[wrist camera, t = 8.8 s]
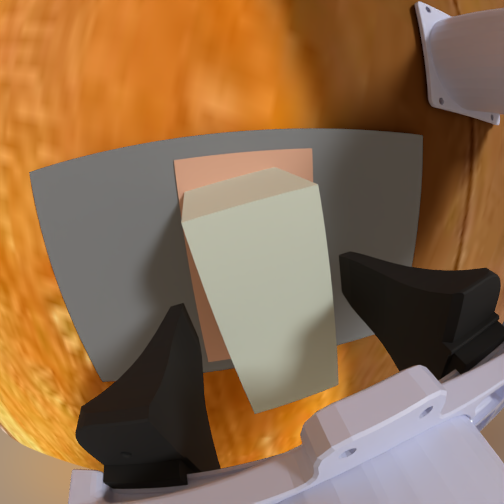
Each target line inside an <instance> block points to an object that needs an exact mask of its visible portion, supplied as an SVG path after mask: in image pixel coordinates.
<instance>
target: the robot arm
mask: <svg viewBox="0 0 504 504" xmlns="http://www.w3.org/2000/svg"><path fill="white" fill-rule="evenodd" d="M415 9H416V14H417V19H418V23H419V29H420V34H421V40H422V46H423V53H424V60H425V68H426V78H427V89H428V100H429V103H430V105H431V106H432V107H434V108H438V109H443V110H447V111H451V112H454V113H458V114H462V115H465V116H469V117H472V118H475V119H479V120H482V121H485V122H488V123H491V124H494V125H499V123H500V114H504V8H499V9H492V10H485V11H479V12H473V13H468V14H463V15H458V16H454V17H451V16H449V15H447V14H445V13H443V12H441V11H440V10H438V9H435V8H433V7H431V6H429V5H427V4H425V3H423V2H420V1H419V2H417V3H415ZM439 100H440V103H439ZM339 265H340V277H341V290H342V293H343V295H344V296H345V298H346V300H347V301H348V303H349V304H350V306H351V307H352V308H353V310H354V311H355V312H356V313H357V314H358V315H359V317H360V318H361V319H362V320H363V321H364V322H365V323H366V325H367V326H368V327H369V328H370V329H371V330H372V331H373V333H374V334H375V335H376V336H377V337H378V339H379V340H380V341H381V342H382V344H383V345H384V347H385V348H386V350H387V351H388V353H389V354H390V356H391V358H392V359H393V361H394V363H395V364H396V366H397V368H398V369H399V371H400V372H398V373H396V374H394V375H392V376H390V377H389V378H387V379H385V380H383V381H381V382H379V383H376V384H374V385H372V386H370V387H368V388H366V389H364V390H362V391H359V392H357V393H355V394H353V395H350V396H348V397H346V398H343V399H341V400H339V401H336V402H334V403H332V404H330V405H328V406H326V407H324V408H323V409H321V410H319V411H317V412H316V413H315V414H314V415H312V416H311V417H310V418H309V419H308V420H307V421H306V422H305V423H304V425H303V428H302V431H301V434H300V435H301V440H302V445H300V446H298V447H296V448H294V449H291V450H289V451H287V452H285V453H282V454H279V455H275V456H272V457H268V458H265V459H261V460H257V461H253V462H249V463H245V464H241V465H237V466H232V467H227V468H222V469H221V468H220V465H219V462H218V458H217V454H216V451H215V447H214V443H213V439H212V435H211V430H210V426H209V421H208V416H207V411H206V406H205V398H204V383H203V363H202V353H201V347H200V342H199V337H198V335H197V333H196V330H195V328H194V326H193V324H192V321H191V319H190V317H189V314H188V312H187V310H186V307H185V305H184V303H181V304H178V305H174V306H171V307H170V308H169V310H168V312H167V314H166V315H165V317H164V319H163V321H162V322H161V324H160V326H159V328H158V329H157V331H156V333H155V334H154V336H153V337H152V339H151V340H150V342H149V343H148V345H147V347H146V348H145V349H144V351H143V352H142V354H141V355H140V356H139V357H138V359H137V360H136V361H135V362H134V363H133V365H132V366H131V367H130V368H129V369H128V370H127V371H126V372H125V373H124V374H123V375H122V376H121V377H120V378H119V379H118V380H117V381H116V382H115V383H113V384H112V385H111V386H110V387H109V388H107V389H106V390H105V391H104V392H102V393H101V394H100V395H98V396H97V397H95V398H94V399H92V400H91V401H89V402H88V403H86V404H85V405H83V406H82V407H81V411H80V415H79V419H78V424H77V429H76V439H77V441H78V443H79V444H80V445H81V446H82V447H83V448H84V449H85V450H86V451H87V452H88V453H89V454H91V455H92V456H93V457H94V458H96V459H97V460H98V461H100V462H101V463H102V464H103V465H104V473H103V472H101V471H98V470H82V469H73V470H72V475H71V483H70V492H69V501H68V504H504V463H503V462H502V461H501V459H500V458H499V457H498V455H497V454H496V453H495V451H494V450H493V449H492V447H491V446H490V445H489V443H488V442H487V441H486V440H485V438H484V437H483V436H482V434H481V433H480V431H481V430H482V429H483V428H484V427H485V426H486V425H487V424H488V423H489V422H490V421H491V420H492V419H493V418H494V417H495V416H496V415H497V414H498V413H499V412H500V411H501V410H502V409H503V408H504V322H503V324H501V323H499V322H498V320H499V315H497V314H496V313H495V312H494V311H495V308H496V304H497V301H498V297H499V293H500V278H499V276H498V275H497V274H495V273H494V272H492V271H490V270H489V269H487V268H480V269H472V270H457V271H443V270H429V269H421V268H415V267H409V266H404V265H400V264H396V263H392V262H388V261H384V260H381V259H377V258H374V257H371V256H367V255H364V254H360V253H356V252H351V251H349V252H346V253H343V254H340V255H339Z"/></svg>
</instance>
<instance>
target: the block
mask: <svg viewBox="0 0 504 504" xmlns="http://www.w3.org/2000/svg"><path fill="white" fill-rule="evenodd" d="M181 224H182V227H183V230H184V233H185V236H186V239H187V242H188V244H189V247H190V250H191V253H192V256H193V259H194V262H195V265H196V268H197V270H198V273H199V276H200V279H201V282H202V284H203V287H204V290H205V293H206V295H207V298H208V301H209V303H210V306H211V309H212V311H213V314H214V316H215V319H216V322H217V324H218V327H219V329H220V332H221V334H222V337H223V340H224V342H225V345H226V347H227V350H228V352H229V354H230V357H231V359H232V362H233V364H234V367H235V369H236V371H237V374H238V376H239V379H240V381H241V383H242V386H243V388H244V390H245V393H246V395H247V397H248V399H249V402H250V404H251V406H252V408H253V411H254V413H255V414H256V413H260V412H263V411H266V410H270V409H273V408H276V407H279V406H282V405H285V404H288V403H291V402H294V401H297V400H300V399H303V398H305V397H308V396H311V395H314V394H316V393H319V392H321V391H324V390H327V389H329V388H332V387H334V386H336V385H338V363H337V345H336V329H335V316H334V304H333V293H332V283H331V274H330V265H329V256H328V248H327V240H326V233H325V226H324V219H323V212H322V205H321V199H320V193H319V187H318V184H316V183H313V182H311V181H309V180H306V179H304V178H301V177H299V176H296V175H294V174H291V173H289V172H286V171H284V170H281V169H279V168H276V167H273V168H269V169H265V170H261V171H257V172H253V173H249V174H246V175H242V176H238V177H234V178H231V179H227V180H224V181H220V182H216V183H213V184H210V185H206V186H203V187H199V188H196V189H193V190H189V191H186V192H184V201H183V210H182V220H181Z"/></svg>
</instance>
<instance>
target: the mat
mask: <svg viewBox="0 0 504 504" xmlns="http://www.w3.org/2000/svg"><path fill="white" fill-rule="evenodd" d="M422 163H423V135H417V134H408V133H398V132H386V131H373V130H354V129H272V130H253V131H239V132H227V133H216V134H207V135H198V136H190V137H183V138H175V139H169V140H162V141H156V142H150V143H144V144H139V145H134V146H128V147H123V148H119V149H114V150H109V151H105V152H100V153H96V154H92V155H88V156H84V157H80V158H76V159H72V160H68V161H65V162H61V163H58V164H54V165H51V166H48V167H44V168H41V169H38V170H35V171H32V172H29V173H30V179H31V185H32V190H33V195H34V200H35V205H36V210H37V214H38V218H39V222H40V226H41V230H42V234H43V238H44V241H45V245H46V248H47V252H48V255H49V258H50V262H51V265H52V268H53V271H54V274H55V277H56V280H57V283H58V285H59V288H60V291H61V293H62V296H63V299H64V301H65V304H66V306H67V309H68V311H69V314H70V316H71V318H72V321H73V323H74V325H75V328H76V330H77V332H78V334H79V337H80V339H81V341H82V343H83V345H84V347H85V349H86V351H87V353H88V355H89V357H90V359H91V361H92V363H93V365H94V367H95V369H96V371H97V373H98V374H99V376H100V378H101V380H102V382H105V381H117V380H118V379H119V378H120V377H121V376H122V375H123V374H124V373H125V372H126V371H127V370H128V369H129V368H130V367H131V366H132V365H133V363H134V362H135V361H136V360H137V359H138V357H139V356H140V355H141V354H142V352H143V351H144V349H145V348H146V347H147V345H148V343H149V342H150V340H151V339H152V337H153V336H154V334H155V333H156V331H157V329H158V328H159V326H160V324H161V322H162V321H163V319H164V317H165V315H166V314H167V312H168V310H169V308H170V307H171V306H174V305H178V304H181V303H184V305H185V307H186V310H187V312H188V314H189V317H190V319H191V321H192V324H193V326H194V328H195V330H196V333H197V335H198V337H199V342H200V347H201V353H202V363H203V373H205V372H212V371H219V370H225V369H231V368H235V367H234V364H233V362H232V359H231V357H230V354H229V352H228V350H227V347H226V345H225V342H224V340H223V337H222V334H221V332H220V329H219V327H218V324H217V322H216V319H215V316H214V314H213V311H212V309H211V306H210V303H209V301H208V298H207V295H206V293H205V290H204V287H203V284H202V282H201V279H200V276H199V273H198V270H197V268H196V265H195V262H194V259H193V256H192V253H191V250H190V247H189V244H188V242H187V239H186V236H185V233H184V230H183V227H182V224H181V220H182V210H183V201H184V192H186V191H189V190H193V189H196V188H199V187H203V186H206V185H210V184H213V183H216V182H220V181H224V180H227V179H231V178H234V177H238V176H242V175H246V174H249V173H253V172H257V171H261V170H265V169H269V168H273V167H276V168H279V169H281V170H284V171H286V172H289V173H291V174H294V175H296V176H299V177H301V178H304V179H306V180H309V181H311V182H313V183H316V184H318V187H319V193H320V199H321V205H322V212H323V219H324V226H325V233H326V240H327V248H328V256H329V265H330V274H331V283H332V293H333V304H334V316H335V329H336V345H340V344H343V343H347V342H350V341H354V340H357V339H361V338H364V337H367V336H370V335H374V333H373V331H372V330H371V329H370V328H369V327H368V326H367V325H366V323H365V322H364V321H363V320H362V319H361V318H360V317H359V315H358V314H357V313H356V312H355V311H354V310H353V308H352V307H351V306H350V304H349V303H348V301H347V300H346V298H345V296H344V295H343V293H342V290H341V277H340V265H339V255H340V254H343V253H346V252H349V251H351V252H356V253H360V254H364V255H367V256H371V257H374V258H377V259H381V260H384V261H388V262H392V263H396V264H400V265H404V266H409V267H412V262H413V256H414V250H415V243H416V236H417V228H418V219H419V209H420V198H421V184H422Z"/></svg>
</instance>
